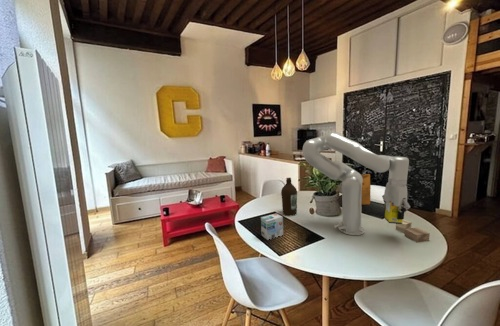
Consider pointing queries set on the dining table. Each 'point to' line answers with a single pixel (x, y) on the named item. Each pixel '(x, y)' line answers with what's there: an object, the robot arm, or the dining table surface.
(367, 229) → the dining table surface
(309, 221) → the dining table surface
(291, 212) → the olive oil
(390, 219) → the supplement box
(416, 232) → the walnut block
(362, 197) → the coffee package
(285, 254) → the dining table surface
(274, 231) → the light bulb box
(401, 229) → the oak cube
